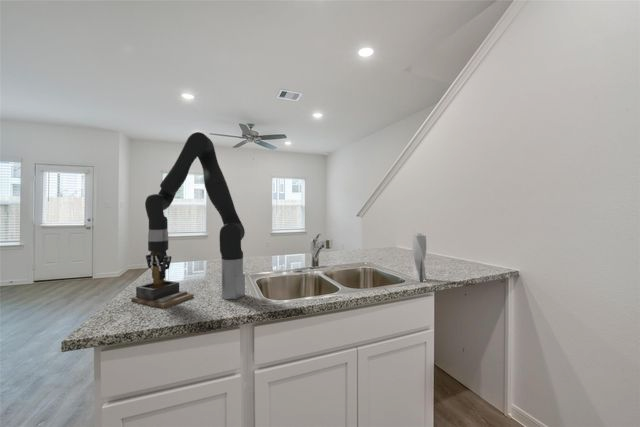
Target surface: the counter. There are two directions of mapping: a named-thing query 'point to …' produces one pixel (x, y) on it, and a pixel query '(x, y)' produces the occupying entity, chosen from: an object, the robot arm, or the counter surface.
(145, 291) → the socket board
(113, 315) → the counter surface
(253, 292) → the counter surface
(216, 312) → the counter surface
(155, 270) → the brown wooden chess pawn
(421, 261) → the skyscraper
